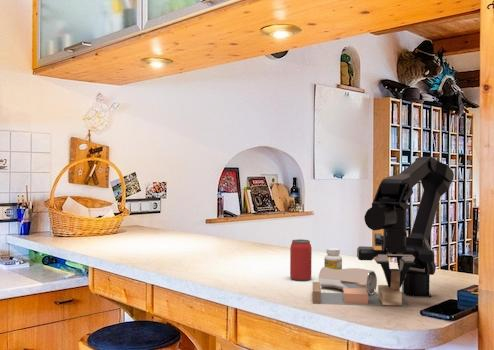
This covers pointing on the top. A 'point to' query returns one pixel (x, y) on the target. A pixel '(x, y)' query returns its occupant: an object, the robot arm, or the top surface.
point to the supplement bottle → (333, 259)
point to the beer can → (300, 260)
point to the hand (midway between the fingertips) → (394, 287)
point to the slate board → (338, 300)
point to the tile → (355, 295)
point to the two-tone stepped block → (391, 290)
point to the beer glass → (348, 279)
